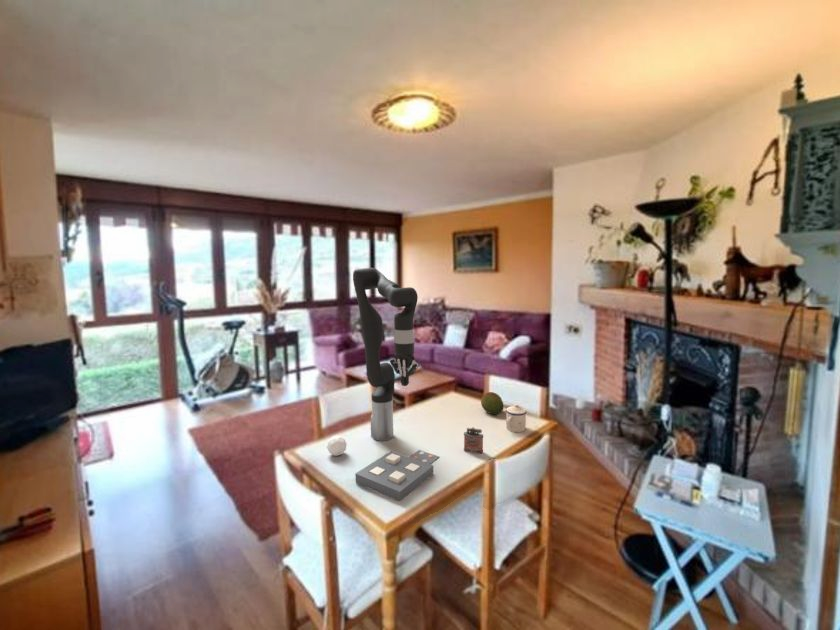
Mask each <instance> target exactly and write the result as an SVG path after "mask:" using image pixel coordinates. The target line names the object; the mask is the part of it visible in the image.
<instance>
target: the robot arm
mask: <svg viewBox="0 0 840 630" xmlns="http://www.w3.org/2000/svg"><path fill="white" fill-rule="evenodd" d="M352 283H353V287H354V292H355V294H356V295H355V296H356V300H357V304H358V310H359V316H360V326H361V331H362V337H363V345H364V352H365V368H366V378H367V381H368V383H369V385H370V386H371V387H374V388H375V389H374V391H373V392H372V393H371V415H370V437H372V438H373V439H374V440H376V441H379V442H380V441H384V442H385V441H388V440H391V439H392V438H394V407H393V406H394V400H393V397H394V396H393V395H394V394H395V373H396V374H398V375H399V376H400V384H401V386H403V387H406V386H408V385H409V383H410V376H412V375H414V374H415V373H416V371H417V369H418V368H419V367H420V363H419V362H416V359H415V356H414V353H415V332H414V315H415V311H416V308H417V304H418V298H419V297H418V293H417V290H416V289H415V288H414V287H411V286H409V287H401V285H400V284H398V283H397V282H394V281H392V280H390V279H388V278H387V277H386V276H385V275H384V274H383V273H382V272H380V270H378V269H377V268H374V267H365V268H357V269H355V270H354V271H353V272H352ZM374 289H377V293H378V294H379V295H380V296H381V297H383V298H384V299H386V300H387V301H388V303H389V304H390V305H391V306H392V307H393V308H394V307H395V308H403V307H404V308H403V310H402V311H401V312H398V313H396V314H394V318H393V319H394V321H393V322H394V327H393V328H394V331H393V332H394V333H393V349H394V350H393V351H394V358H392V359H390V360H389V362H382V363H381V358H380V350H381V347H382V344H383V340H384V336H385V335H384V334H385V330H384V323H383V319H382V317H381V315H380V313H379V312H378V311H377V310H376V308H375V307H374V306H373V305H372V304H371V302H370V300H369V298H368V296H367V292H366V291H367V290H368V291H369V290H374Z"/></svg>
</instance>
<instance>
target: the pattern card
mask: <svg viewBox="0 0 840 630" xmlns="http://www.w3.org/2000/svg"><path fill="white" fill-rule="evenodd" d="M408 457H410V458H413V459H416V460H419V461H422V462H424V463H427V464H430V465H432V464H433V463H434V462H435V461H437V459H439V458H440V456H438V455H436V454H432V453H429V452H426V451H424V450H421V449H418V450H417V451H415V452H414V453H412V454H411V455H409V456H408Z"/></svg>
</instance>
